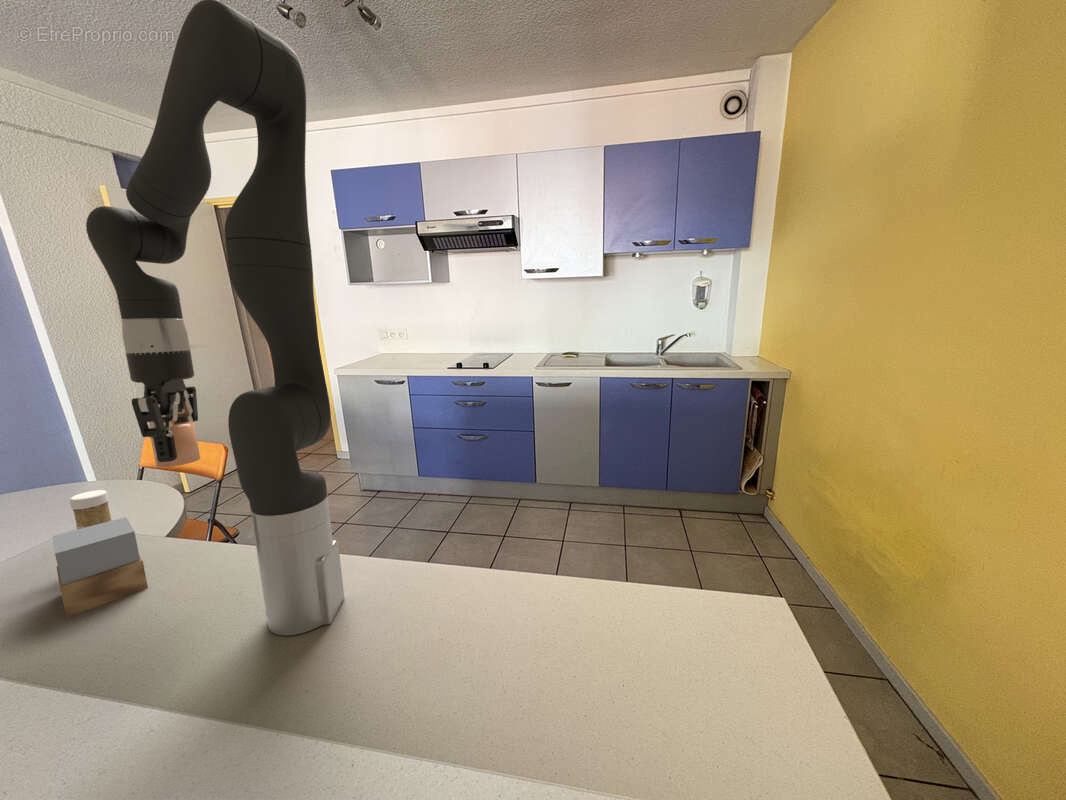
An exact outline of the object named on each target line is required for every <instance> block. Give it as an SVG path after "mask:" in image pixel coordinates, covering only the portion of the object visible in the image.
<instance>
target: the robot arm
mask: <svg viewBox="0 0 1066 800" xmlns="http://www.w3.org/2000/svg"><path fill="white" fill-rule="evenodd" d="M306 89H307V88H306V79H305V74H304V70H303V66H302V63H301V61H300V59H299V56H298V55H297V53H296V51H294V49H293V48H291V46H290V45H288V44H287V43H286V42H285V41H284V40H282V39H281V38H279V37H278V36H276V35H275V34H273V33H271V32H270V31H269V30H267V29H265V28H264V27H262V26H260V25H259V24H257V22H255V21H253V20H252V19H250V18H248V17H247V16H245V15H244V14H243V13H241V12H240V11H238V10H236V9H235V8H233V7H231V6H229V5H228V4H226V3H224V2H222V1H220V0H200V1H198V2H197V3H196V4H194V6H193V7H192V8H191V9H190V11H189V12H188V13H187V16H186V18H185V20H184V22H183V24H182V26H181V29H180V31H179V35H178V36H177V40H176V44H175V47H174V51H173V54H172V59H171V63H170V66H169V70H168V73H167V77H166V80H165V85H164V88H163V92H162V96H161V101H160V104H159V109H158V113H157V118H156V121H155V125H154V129H153V132H152V135H151V138H150V140H149V143H148V144H147V147H146V149H145V152H144V153H143V155H142V156H141V159H140V161H139V162H138V165H137V167H136V168H135V170H134V171H133V173H132V176H131V177H130V180H129V181H128V183H127V186H126V189H125V195H126V199H127V201H128V203H129V204H130V206H131V208H133V209H134V210H130V209H125V208H120V207H114V206H109V205H107V206H106V205H101V206H97V207H96V208H94V209H92V210H91V211H90V213H89V214H88V216H87V217H86V222H85V228H86V229H85V230H86V234H87V238H88V240H89V242H90V244H91V246H92V248H93V250H94V252H95V253H96V255H97V257H98V258H99V260H100V263H101V264H102V265H103V267H104V269H105V271H106V274H107V275H108V277H109V279H110V282H111V283H112V286H113V288H114V290H115V294H116V297H117V302H118V309H119V314H120V319H121V325H122V330H121V333H122V334H121V335H122V342H123V347H124V351H125V357H126V362H127V366H128V367H127V368H128V372H129V377H130V380H131V381H132V382H133V383H136V384H137V383H138V384H140V383H142V384H143V385H144V392H143V396H142V397H136V398H135V397H134V398H132V399H131V405H132V408H133V409H132V410H133V411H134V415H135V418H136V420H137V421H136V422H137V425H138V427H139V431H140V433H141V436H142V438H150V440H151V439H154V444H155V449H156V454H157V459H158V461H159V462H168V461H173V460H175V459H176V458H177V454H176V448H175V443H174V437H173V423H174V422H183V421H192V422H194V423H195V422H198V421H199V412H198V401H197V399H198V398H197V389H196V387H195V386H186V384H185V381H184V380H189V379H191V378H194V376H195V371H194V364H193V358H192V353H191V347H190V341H189V335H188V331H187V329H186V325H185V322H184V316H183V311H182V306H181V302H180V301H181V299H180V295H179V294H180V293H179V291H178V290H179V289H178V287H177V285H176V284H174V282H171V281H169V280H166V279H162V278H159V277H155V276H152V275H149V274H147V272H145V271H144V270H143V269H142V267H140V265H139V264H138V262H140V263H141V262H142V263H150V264H152V263H153V264H158V265H159V264H161V265H167V264H173V263H175V262H177V261H178V260H180V259H181V258H183V256H184V255H185V252H186V249H187V248H186V247H187V241H188V238H187V237H188V233H189V232H188V231H189V227H190V223H191V218H192V216H193V214H194V213H195V211H196V210H197V209H198V207H199V205H200V204H201V203H202V200H203V199H204V198H205V196H206V195H207V192H208V191H209V189H210V185H211V179H212V165H211V162H210V161H211V160H210V157H209V151H208V148H207V144H206V139H205V133H204V123H205V120H206V117H207V115H208V114H209V112H210V110H211V109H212V108H213V106H215V104H216V103H217V102H220V103H222V104H225V105H227V106H230V107H232V108H233V109H236V110H238V111H241V112H243V113H244V114H245V113H246V114H247V115H250V116H252V117H253V118H254V121H255V126H256V133H257V157H256V163H255V165H254V169H253V172H252V173H251V175H250V176H249V178H248V180H247V182H246V183H245V185H244V186H243V187H242V190H240V192H239V194H238V196H237V197H236V199H235V200H234V202H233V204H232V206H231V207H230V210H229V211H228V214H227V215H226V219H225V223H224V240H225V248H226V257H227V266H228V272H229V278H230V282H231V284H232V287H233V289H234V291H235V293H236V295H237V298H239V301H240V302H241V303H242V305H243V307H244V309H245V310H246V312H247V313H248V314H249V316H250V317H251V319H252V320H253V321H254V322H255V325H257V328H258V330H260V332H261V333H262V334H261V335H262V336H263V337H264V339H265V341H266V344H267V346H268V348H269V351H270V355H271V361H272V366H273V368H272V369H273V375H274V377H273V378H274V386H269V387H268V386H267V387H263V388H257V389H253V390H249V391H245V392H243V393H241V394H239V395H238V396H236V398H235V399H234V401H233V402H232V404H231V405H230V408H229V412H228V419H227V420H228V421H227V422H228V433H229V438H230V439H229V440H230V444H231V448H232V453H233V457H234V461H235V462H234V463H235V466H236V471H237V476H238V480H239V484H240V487H241V488H242V491H243V492H244V495H245V496H246V498H247V500H248V502H249V506H250V507H249V509H250V513H251V514H250V515H251V521H252V522H251V523H252V527H253V533H254V535H253V536H254V541H255V550H256V555H257V560H258V568H259V574H260V582H261V589H262V595H263V602H264V608H265V616H266V619H267V627H268V630H269V631H270V632H271V633H274V634H275V635H277V636H278V635H279V636H297V635H299V634H300V635H301V634H304V633H307V632H310V631H312V630H314V629H316V628H318V627H321V626H325V625H330V624H332V623H333V622H334V620H335V619H334V618H335V617H336V615H337V613H338V611H339V609H340V607H341V604H342V603H343V601H344V599H345V590H344V589H345V588H344V583H343V573H342V564H341V556H340V549H339V548H340V547H339V541H338V540H336V539H333V534H332V525H331V516H330V508H329V507H330V506H329V498H328V488H327V482H326V479H325V477H324V475H322V474H320V473H318V472H314V471H302V470H301V467H300V462H299V458H298V453H297V452H299V451H301V450H304V449H306V448H309V447H311V446H314V445H315V444H317V443H319V442H321V441H322V440H323V439H324V438H325V437H326V435H327V433H328V431H329V430H330V424H331V417H332V415H331V404H330V397H329V392H328V387H327V382H326V375H325V371H324V367H323V361H322V353H321V350H320V343H319V333H318V332H319V331H318V323H317V313H316V304H315V291H314V271H313V269H314V268H313V257H312V255H313V254H312V244H311V237H310V230H309V229H310V228H309V218H308V202H307V201H308V199H307V185H306V183H307V182H306V139H307V138H306V136H307V135H306V132H307V131H306V129H307V90H306ZM148 424H149V425H148ZM164 424H165V426H164ZM149 428H150V429H149Z"/></svg>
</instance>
